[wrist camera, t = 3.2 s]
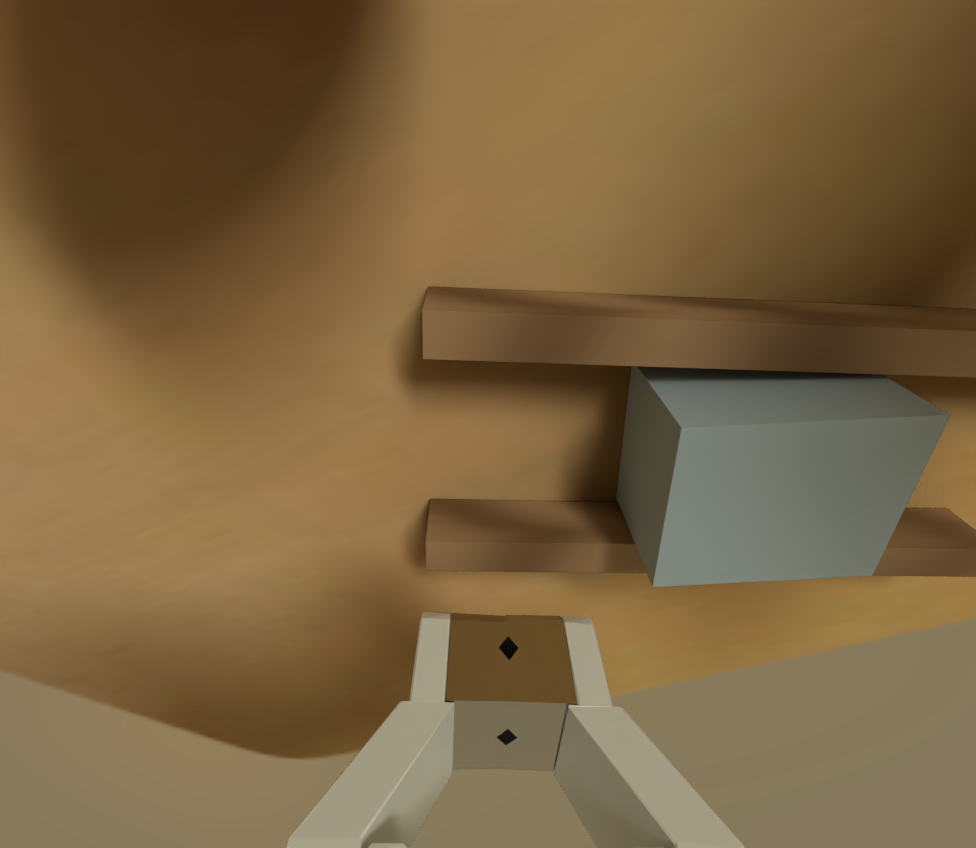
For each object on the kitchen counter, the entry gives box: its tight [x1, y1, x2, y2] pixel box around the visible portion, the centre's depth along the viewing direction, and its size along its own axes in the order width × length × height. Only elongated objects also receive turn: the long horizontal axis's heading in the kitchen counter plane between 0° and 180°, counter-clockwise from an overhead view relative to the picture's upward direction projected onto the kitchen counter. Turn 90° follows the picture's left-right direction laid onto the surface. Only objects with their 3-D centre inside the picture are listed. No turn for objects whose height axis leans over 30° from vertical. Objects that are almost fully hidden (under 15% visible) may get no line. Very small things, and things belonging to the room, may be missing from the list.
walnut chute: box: [422, 287, 976, 577], centre depth 15 cm, size 18×8×2 cm, turn 87°
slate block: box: [616, 366, 950, 587], centre depth 14 cm, size 6×5×4 cm
